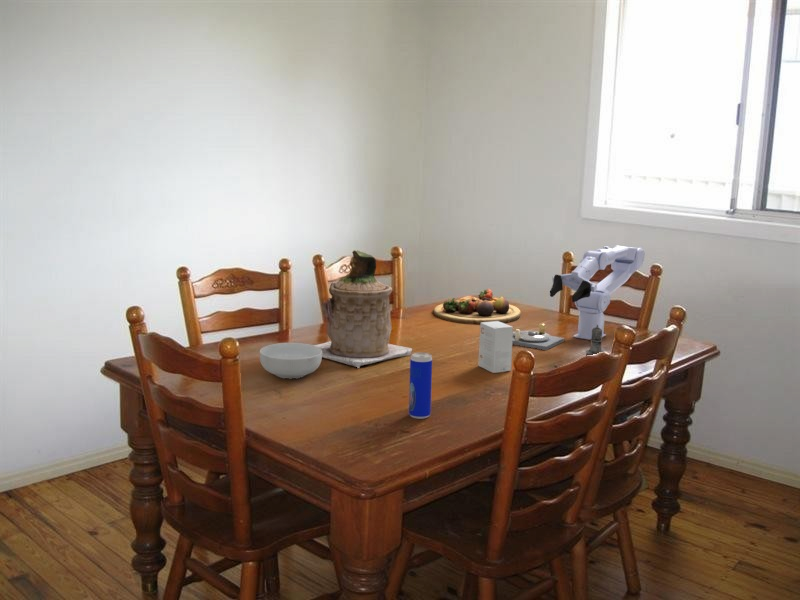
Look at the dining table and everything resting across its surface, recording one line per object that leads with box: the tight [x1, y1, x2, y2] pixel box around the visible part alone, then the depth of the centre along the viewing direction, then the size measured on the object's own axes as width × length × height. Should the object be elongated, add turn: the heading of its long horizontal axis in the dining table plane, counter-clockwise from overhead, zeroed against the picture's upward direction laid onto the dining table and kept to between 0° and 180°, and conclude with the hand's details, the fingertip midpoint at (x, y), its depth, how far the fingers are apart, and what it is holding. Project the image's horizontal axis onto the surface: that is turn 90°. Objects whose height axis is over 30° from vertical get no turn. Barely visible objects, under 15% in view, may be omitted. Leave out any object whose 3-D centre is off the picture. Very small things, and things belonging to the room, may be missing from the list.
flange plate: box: [513, 323, 551, 342], centre depth 274 cm, size 11×13×4 cm
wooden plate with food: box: [433, 288, 522, 325], centre depth 312 cm, size 32×32×8 cm
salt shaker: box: [584, 325, 604, 357], centre depth 249 cm, size 6×6×12 cm
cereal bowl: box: [259, 342, 323, 380], centre depth 232 cm, size 17×17×7 cm
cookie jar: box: [312, 249, 413, 369], centre depth 252 cm, size 25×25×32 cm
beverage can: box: [408, 352, 433, 420], centre depth 201 cm, size 5×5×15 cm
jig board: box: [512, 328, 565, 351], centre depth 274 cm, size 14×16×5 cm
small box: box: [477, 321, 514, 374], centre depth 242 cm, size 8×6×13 cm
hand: (561, 296), depth 264 cm, fingers open, 7 cm apart
